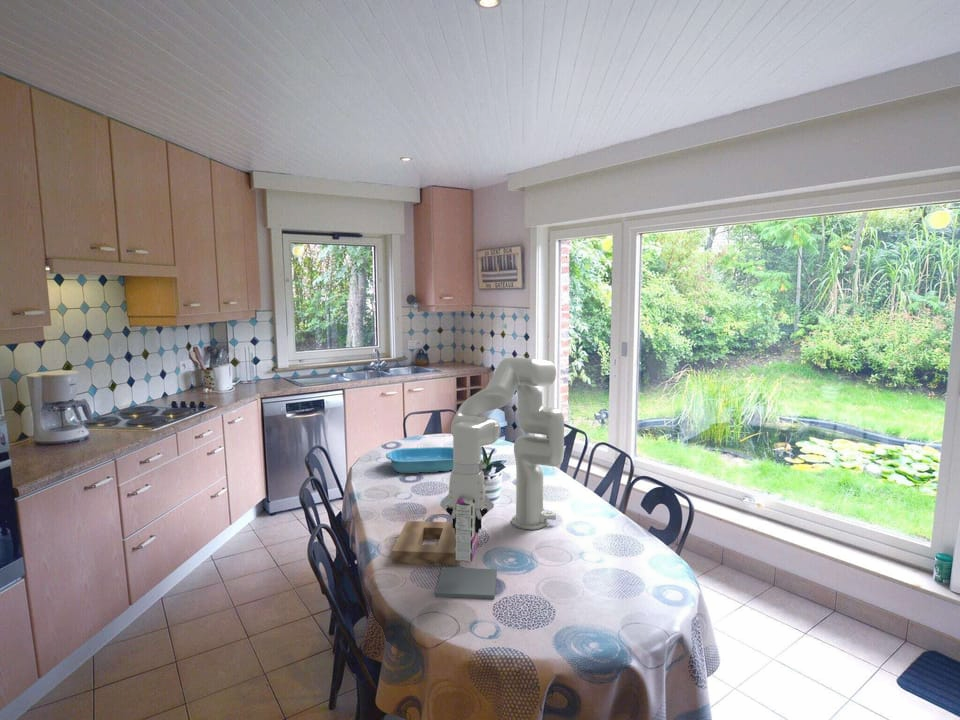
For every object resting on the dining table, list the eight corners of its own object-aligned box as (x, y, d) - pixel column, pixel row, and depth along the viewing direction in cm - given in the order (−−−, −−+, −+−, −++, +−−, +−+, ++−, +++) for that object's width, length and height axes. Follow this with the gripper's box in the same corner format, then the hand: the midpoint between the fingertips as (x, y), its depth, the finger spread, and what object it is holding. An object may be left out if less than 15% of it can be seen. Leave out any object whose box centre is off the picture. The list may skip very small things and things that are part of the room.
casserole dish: (460, 458, 272) (460, 444, 271) (467, 472, 250) (467, 457, 249) (385, 462, 265) (385, 448, 264) (386, 477, 243) (386, 462, 243)
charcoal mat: (496, 572, 160) (496, 569, 160) (494, 598, 146) (494, 595, 146) (442, 570, 161) (442, 567, 161) (435, 596, 147) (435, 592, 147)
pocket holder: (464, 534, 186) (464, 522, 185) (457, 565, 164) (457, 553, 163) (406, 532, 187) (406, 520, 187) (391, 563, 165) (391, 550, 165)
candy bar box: (461, 542, 158) (462, 488, 156) (478, 544, 158) (479, 489, 156) (453, 561, 147) (455, 502, 146) (471, 562, 147) (473, 504, 145)
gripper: (498, 464, 153) (498, 526, 155) (438, 462, 154) (438, 524, 156) (497, 472, 145) (497, 537, 147) (434, 471, 147) (434, 535, 149)
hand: (467, 530), depth 152 cm, fingers closed on candy bar box, 5 cm apart
